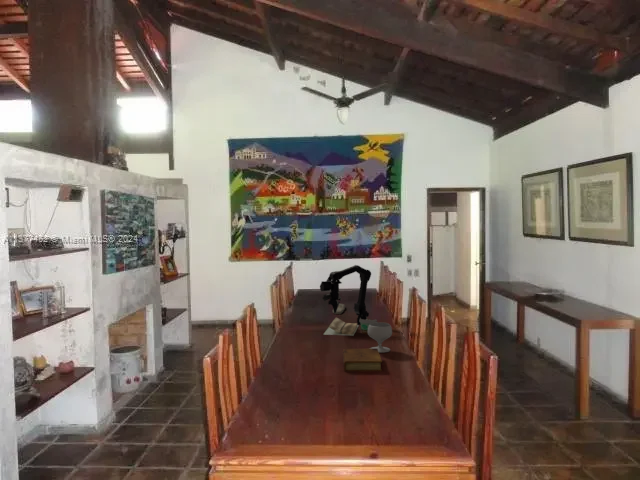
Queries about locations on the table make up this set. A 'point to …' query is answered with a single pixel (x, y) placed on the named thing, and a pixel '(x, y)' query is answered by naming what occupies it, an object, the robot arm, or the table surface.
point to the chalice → (380, 334)
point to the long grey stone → (340, 309)
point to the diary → (361, 360)
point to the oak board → (349, 328)
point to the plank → (337, 325)
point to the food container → (366, 325)
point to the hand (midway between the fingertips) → (335, 312)
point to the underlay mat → (332, 332)
